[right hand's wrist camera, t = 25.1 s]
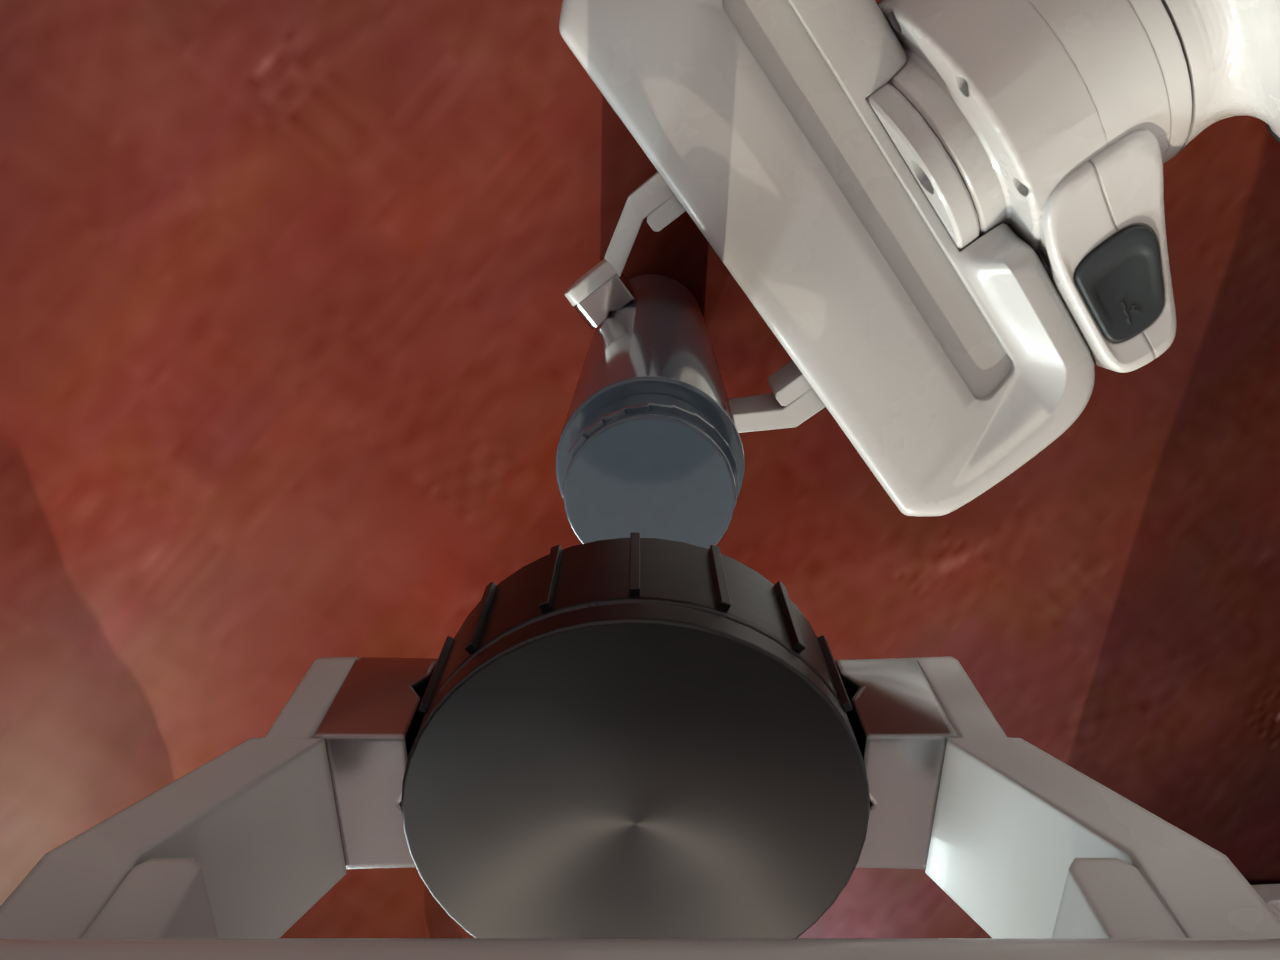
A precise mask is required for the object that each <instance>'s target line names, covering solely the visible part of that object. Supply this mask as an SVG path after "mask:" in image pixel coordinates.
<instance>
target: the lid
mask: <svg viewBox="0 0 1280 960" xmlns="http://www.w3.org/2000/svg"><path fill="white" fill-rule="evenodd" d="M850 710H853V708H852V705H851V703H850V700H849V698H848V695H847V692H846V690H845V687H844V685H843V682H842V679H841V677H840V674H839V672H838V669H837V666H836V664H835V661H834V658H833V656H832V653H831V651H830V648H829V645H828V643H827V640H826V638H825V636H824V635H823V636H821V637H818V638H817V636H816V634H815V632H814V631H813V629H812V627H811V625H810V624H809V622H808V621H807V620H806V618H805V617H804V616H803V614H802V613H801V612H800V610H799V609H798V608H797V606H796V605H795V604H794V603H793V602H792V601H791V600H790V599H789V596H788V593H787V590H786V587H785V586H784V585H783V584H782V583H781V582H780V581H778V582H777V583H776V584H775V585H774V584H772V583H771V582H770V581H768V580H767V579H766V578H764V577H763V576H762V575H760V574H759V573H758V572H756V571H754V570H752V569H751V568H749V567H747V566H745V565H743V564H742V563H740V562H738V561H736V560H734V559H732V558H730V557H727V556H725V555H722V554H721V552H720V548H719V547H717V546H714V545H711V546H710V548H709V549H707V548H703V547H699V546H695V545H692V544H688V543H684V542H679V541H672V540H665V539H658V538H640V533H639V532H631V533H630V537H627V538H616V539H606V540H598V541H594V542H589V543H584V544H580V545H575V546H572V547H569V548H566V549H563V550H562V549H561V547H560V545H557V546H554V547H552V548H551V551H550V554H549V555H546V556H544V557H542V558H540V559H538V560H536V561H534V562H532V563H530V564H528V565H526V566H524V567H522V568H521V569H520V570H518V571H517V572H515V573H514V574H512V575H511V576H509V577H508V578H506V579H505V580H503V581H502V582H501V583H499V584H498V585H497V586H496V585H495V584H494V583H493V582H491V583H490V584H489V585H488V586H486V589H485V591H484V594H483V597H482V600H481V601H480V602H479V603H478V605H477V606H476V607H475V608H474V609H473V611H472V612H471V613H470V614H469V615H468V617H467V618H466V620H465V621H464V623H463V625H462V626H461V628H460V629H459V631H458V633H457V634H456V636H455V638H451V637H449V636H448V637H447V639H446V641H445V643H444V646H443V648H442V651H441V653H440V656H439V658H438V661H437V663H436V666H435V668H434V671H433V673H432V676H431V678H430V681H429V683H428V686H427V688H426V691H425V693H424V696H423V698H422V701H421V703H420V706H419V708H418V711H420V712H423V713H425V714H424V717H423V719H422V722H421V724H420V727H419V730H418V733H417V735H416V738H415V740H414V743H413V745H412V748H411V750H410V753H409V756H408V760H407V764H406V768H405V772H404V776H403V782H402V797H401V809H402V819H403V829H404V833H405V837H406V840H407V844H408V848H409V852H410V855H411V857H412V859H413V861H414V864H415V866H416V868H417V870H418V873H419V875H420V877H421V878H422V880H423V882H424V883H425V885H426V886H427V888H428V889H429V891H430V893H431V894H432V896H433V897H434V898H435V900H436V901H437V902H438V903H439V904H440V905H441V907H442V908H443V909H444V910H445V911H446V913H447V914H448V915H449V916H450V917H451V918H452V919H453V920H454V921H456V922H457V923H458V924H459V925H460V926H461V927H462V928H463V929H464V930H465V931H466V932H468V933H469V934H470V935H472V936H473V937H474V938H544V939H796V938H798V937H799V936H800V935H801V934H802V933H804V932H805V931H806V930H807V929H808V928H810V927H811V926H812V925H813V924H814V923H816V922H817V920H818V919H819V918H820V917H821V916H822V915H823V914H824V913H825V912H826V911H827V910H828V909H829V908H830V906H831V905H832V904H833V903H834V902H835V900H836V899H837V897H838V896H839V895H840V893H841V892H842V890H843V889H844V887H845V886H846V885H847V883H848V881H849V879H850V877H851V875H852V873H853V871H854V869H855V867H856V865H857V863H858V861H859V858H860V855H861V852H862V848H863V845H864V842H865V839H866V834H867V827H868V821H869V815H870V793H869V784H868V778H867V773H866V767H865V763H864V760H863V757H862V755H861V752H860V749H859V746H858V743H857V741H856V738H855V735H854V732H853V730H852V727H851V724H850V722H849V719H848V716H847V713H846V712H848V711H850Z"/></svg>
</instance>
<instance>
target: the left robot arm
mask: <svg viewBox="0 0 1280 960" xmlns="http://www.w3.org/2000/svg"><path fill="white" fill-rule="evenodd" d="M559 30H560V34H561V36H562V38H563V39H564V41H565V42H566V44H567V45H568V47H569V48H570V49H571V51H572V52H573V54H574V55H575V56H576V58H577V59H578V61H579V62H580V63H581V65H582V66H583V68H584V69H585V70H586V72H587V73H588V75H589V76H590V77H591V79H592V80H593V82H594V83H595V84H596V86H597V87H598V89H599V90H600V91H601V93H602V94H603V96H604V97H605V99H606V100H607V101H608V103H609V104H610V106H611V107H612V108H613V110H614V111H615V113H616V114H617V115H618V116H619V117H620V119H621V120H622V122H623V123H624V124H625V126H626V127H627V129H628V130H629V131H630V133H631V134H632V136H633V137H634V138H635V140H636V141H637V143H638V144H639V145H640V147H641V148H642V150H643V151H644V152H645V154H646V155H647V157H648V158H649V159H650V161H651V162H652V164H653V165H654V167H655V168H656V169H657V171H658V172H656V173H655V174H654V175H653V176H651V177H650V178H649V179H648V180H647V181H645V182H644V183H643V184H642V185H641V186H639V187H638V188H637V189H636V190H634V191H633V192H632V193H631V194H630V195H629V196H628V199H627V201H626V204H625V206H624V209H623V211H622V214H621V216H620V219H619V221H618V224H617V227H616V229H615V232H614V234H613V237H612V239H611V242H610V244H609V247H608V249H607V252H606V254H605V257H604V259H603V260H602V261H601V262H599V263H598V264H597V265H596V266H594V267H593V268H592V269H591V270H589V271H588V272H587V273H586V274H584V275H583V276H582V277H581V278H579V279H578V280H577V281H576V282H575V283H574V284H572V285H571V286H570V287H569V288H568V289H567V290H566V292H565V293H564V295H565V296H566V298H567V299H568V300H569V302H570V303H571V304H572V306H574V308H575V309H576V310H577V311H578V313H579V314H580V315H581V316H582V317H583V319H584V320H585V321H586V322H587V324H588V325H589V326H590V327H591V329H594V328H596V327H597V326H599V325H600V324H602V323H603V322H604V321H605V320H606V319H607V318H608V315H609V311H617V310H619V309H621V308H622V307H624V306H625V305H626V304H627V303H629V302H630V301H631V300H633V299H634V296H635V295H634V293H635V289H634V288H633V286H632V285H631V284H630V282H629V281H628V279H627V278H626V277H625V275H624V274H623V273H622V271H623V268H624V266H625V263H626V261H627V258H628V256H629V254H630V251H631V249H632V246H633V244H634V241H635V239H636V236H637V234H638V231H639V229H640V226H641V224H642V221H643V219H644V218H646V217H647V223H648V224H649V226H650V227H651V228H652V229H653V231H656V232H659V231H660V230H662V229H663V228H664V227H666V226H667V225H668V224H669V223H671V222H672V221H673V220H675V219H676V218H677V217H679V216H680V215H681V214H682V213H684V212H685V211H687V213H688V214H689V216H690V217H691V218H692V220H693V221H694V223H695V224H696V225H697V227H698V228H699V230H700V231H701V232H702V234H703V235H704V237H705V238H706V239H707V241H708V242H709V244H710V245H711V246H712V248H713V249H714V251H715V252H716V253H717V255H718V256H719V258H720V259H721V260H722V262H723V263H724V265H725V266H726V267H727V269H728V270H729V272H730V273H731V274H732V276H733V277H734V279H735V280H736V281H737V283H738V284H739V286H740V287H741V288H742V290H743V291H744V293H745V294H746V295H747V297H748V298H749V300H750V301H751V302H752V304H753V305H754V307H755V308H756V309H757V311H758V312H759V314H760V315H761V317H762V318H763V319H764V321H765V322H766V324H767V325H768V326H769V328H770V329H771V331H772V332H773V333H774V335H775V336H776V338H777V339H778V340H779V342H780V343H781V345H782V346H783V347H784V349H785V350H786V352H787V353H788V354H789V356H790V357H791V359H792V360H791V361H790V362H788V363H787V364H786V365H784V366H783V367H782V368H780V369H779V370H778V371H776V372H775V373H774V374H772V375H771V376H769V377H768V383H769V385H770V387H771V390H772V392H773V393H769V394H762V395H755V396H748V397H741V398H734V399H728V400H729V403H730V406H731V409H732V413H733V416H734V419H735V422H736V426H737V429H738V432H739V433H741V432H751V431H762V430H772V429H782V428H792V427H797V426H798V425H800V424H801V423H803V422H804V421H806V420H807V419H808V418H810V417H811V416H813V415H814V414H816V413H817V412H819V411H820V410H822V409H823V408H825V407H826V408H827V409H828V410H829V412H830V413H831V415H832V416H833V417H834V419H835V420H836V422H837V423H838V424H839V426H840V427H841V429H842V430H843V431H844V433H845V434H846V436H847V437H848V438H849V440H850V441H851V443H852V445H853V446H854V448H855V449H856V450H857V452H858V453H859V455H860V456H861V457H862V459H863V460H864V461H865V463H866V464H867V466H868V467H869V468H870V470H871V471H872V473H873V474H874V475H875V477H876V478H877V480H878V481H879V482H880V484H881V485H882V487H883V488H884V489H885V491H886V492H887V494H888V495H889V496H890V498H891V499H892V501H893V502H894V503H895V505H896V506H897V507H898V509H899V510H900V511H901V512H902V513H903V514H904V515H907V516H942V515H945V514H948V513H950V512H952V511H954V510H956V509H958V508H960V507H961V506H963V505H965V504H966V503H968V502H970V501H971V500H973V499H974V498H976V497H977V496H979V495H981V494H982V493H984V492H985V491H987V490H988V489H990V488H991V487H993V486H994V485H996V484H997V483H998V482H1000V481H1001V480H1003V479H1004V478H1006V477H1007V476H1008V475H1010V474H1011V473H1013V472H1014V471H1015V470H1017V469H1018V468H1019V467H1021V466H1022V465H1023V464H1025V463H1026V462H1027V461H1029V460H1030V459H1032V458H1033V457H1034V456H1035V455H1037V454H1038V453H1039V452H1041V451H1042V450H1043V449H1044V448H1046V447H1047V446H1048V445H1049V444H1051V443H1052V442H1053V441H1054V440H1055V439H1057V438H1058V437H1059V436H1060V435H1061V434H1062V433H1064V432H1065V431H1066V430H1067V429H1068V428H1069V427H1070V426H1071V425H1072V424H1073V423H1074V421H1075V420H1076V419H1077V418H1078V417H1079V415H1080V414H1081V413H1082V411H1083V410H1084V408H1085V407H1086V405H1087V403H1088V401H1089V399H1090V396H1091V394H1092V391H1093V387H1094V380H1095V369H1094V365H1097V366H1100V367H1103V368H1106V369H1109V370H1113V371H1116V372H1121V373H1125V372H1130V371H1134V370H1136V369H1138V368H1140V367H1142V366H1144V365H1146V364H1148V363H1149V362H1151V361H1153V360H1154V359H1156V358H1157V357H1159V356H1160V355H1161V354H1163V353H1164V352H1165V351H1166V350H1167V349H1168V348H1169V347H1170V346H1171V344H1172V342H1173V340H1174V338H1175V334H1176V311H1175V303H1174V296H1173V289H1172V281H1171V274H1170V266H1169V257H1168V248H1167V238H1166V227H1165V213H1164V194H1163V164H1164V163H1165V162H1167V161H1168V160H1170V159H1171V158H1172V157H1174V156H1176V155H1177V154H1178V153H1179V152H1180V151H1181V150H1182V149H1183V148H1184V147H1185V146H1186V145H1187V144H1188V143H1189V142H1190V141H1192V140H1193V139H1194V138H1195V137H1196V136H1197V135H1198V134H1199V133H1200V132H1202V131H1203V130H1204V129H1205V128H1207V127H1208V126H1210V125H1211V124H1213V123H1215V122H1217V121H1219V120H1222V119H1225V118H1228V117H1233V116H1242V115H1247V116H1253V117H1256V118H1259V119H1261V120H1263V121H1264V122H1266V125H1267V129H1268V131H1269V132H1270V134H1271V135H1272V136H1273V137H1274V138H1275V139H1276V140H1277V141H1279V142H1280V0H881V1H880V2H879V3H878V4H877V3H876V0H563V3H562V8H561V15H560V23H559ZM1251 886H1252V887H1253V888H1254V890H1255V891H1256V892H1257V893H1258V894H1259V896H1260V897H1261V898H1262V899H1263V900H1264V902H1265V903H1266V904H1267V905H1268V906H1269V908H1270V909H1271V910H1272V911H1273V912H1274V914H1275V915H1276V916H1277V917H1278V918H1279V920H1280V884H1261V885H1251Z"/></svg>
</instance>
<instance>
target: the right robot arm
mask: <svg viewBox="0 0 1280 960" xmlns="http://www.w3.org/2000/svg"><path fill="white" fill-rule="evenodd" d="M437 661H438V659H422V658H372V657H362V658H359V657H322V658H319V659H317V660H315V661H314V662H313V663H312V665H311V666H310V668H309V669H308V671H307V672H306V674H305V675H304V677H303V679H302V680H301V682H300V683H299V685H298V686H297V688H296V689H295V691H294V692H293V694H292V695H291V697H290V699H289V700H288V702H287V703H286V705H285V706H284V708H283V709H282V711H281V712H280V714H279V715H278V717H277V718H276V720H275V722H274V723H273V725H272V726H271V728H270V729H269V731H268V732H267V734H266V735H265V737H264V738H250V739H249V740H247V741H245V742H243V743H242V744H240V745H238V746H236V747H234V748H233V749H231V750H229V751H227V752H226V753H224V754H222V755H220V756H218V757H217V758H215V759H213V760H211V761H210V762H208V763H206V764H204V765H202V766H201V767H199V768H197V769H195V770H194V771H192V772H190V773H188V774H187V775H185V776H183V777H181V778H179V779H178V780H176V781H174V782H172V783H171V784H169V785H167V786H165V787H163V788H162V789H160V790H158V791H156V792H155V793H153V794H151V795H149V796H148V797H146V798H144V799H142V800H140V801H139V802H137V803H135V804H133V805H132V806H130V807H128V808H126V809H124V810H123V811H121V812H119V813H117V814H116V815H114V816H112V817H110V818H108V819H107V820H105V821H103V822H101V823H100V824H98V825H96V826H94V827H93V828H91V829H89V830H87V831H85V832H84V833H82V834H80V835H78V836H77V837H75V838H73V839H71V840H69V841H68V842H66V843H64V844H62V845H61V846H59V847H57V848H55V849H53V850H52V851H50V852H48V853H46V854H45V855H44V856H43V857H42V859H41V860H40V861H39V862H38V863H37V864H36V866H35V867H34V868H33V869H32V870H31V871H30V873H29V874H28V875H27V876H26V877H25V878H24V880H23V881H22V882H21V883H20V884H19V885H18V887H17V888H16V889H15V890H14V891H13V892H12V894H11V895H10V896H9V897H8V898H7V900H6V901H5V902H4V903H3V904H2V905H1V907H0V960H1280V920H1279V918H1278V917H1277V916H1276V915H1275V914H1274V912H1273V911H1272V910H1271V909H1270V908H1269V906H1268V905H1267V904H1266V903H1265V902H1264V900H1263V899H1262V898H1261V897H1260V896H1259V894H1258V893H1257V892H1256V891H1255V890H1254V888H1253V887H1252V886H1251V885H1250V884H1249V882H1248V881H1247V880H1246V879H1245V878H1244V876H1243V875H1242V874H1241V873H1240V872H1239V870H1238V869H1237V868H1236V867H1235V866H1234V864H1233V863H1232V862H1231V861H1230V860H1229V858H1228V857H1227V856H1226V855H1224V854H1223V853H1221V852H1219V851H1217V850H1216V849H1214V848H1212V847H1210V846H1209V845H1207V844H1205V843H1203V842H1202V841H1200V840H1198V839H1196V838H1195V837H1193V836H1191V835H1189V834H1188V833H1186V832H1184V831H1182V830H1181V829H1179V828H1177V827H1175V826H1174V825H1172V824H1170V823H1168V822H1167V821H1165V820H1163V819H1161V818H1160V817H1158V816H1156V815H1154V814H1153V813H1151V812H1149V811H1147V810H1146V809H1144V808H1142V807H1140V806H1139V805H1137V804H1135V803H1133V802H1132V801H1130V800H1128V799H1126V798H1125V797H1123V796H1121V795H1119V794H1118V793H1116V792H1114V791H1112V790H1110V789H1109V788H1107V787H1105V786H1103V785H1102V784H1100V783H1098V782H1096V781H1095V780H1093V779H1091V778H1089V777H1088V776H1086V775H1084V774H1082V773H1081V772H1079V771H1077V770H1075V769H1074V768H1072V767H1070V766H1068V765H1067V764H1065V763H1063V762H1061V761H1060V760H1058V759H1056V758H1054V757H1053V756H1051V755H1049V754H1047V753H1046V752H1044V751H1042V750H1040V749H1039V748H1037V747H1035V746H1033V745H1032V744H1030V743H1028V742H1026V741H1025V740H1023V739H1021V738H1007V736H1006V734H1005V733H1004V731H1003V730H1002V728H1001V727H1000V725H999V724H998V722H997V720H996V719H995V717H994V716H993V714H992V713H991V711H990V710H989V708H988V707H987V705H986V703H985V702H984V700H983V699H982V697H981V696H980V694H979V693H978V691H977V689H976V688H975V686H974V685H973V683H972V682H971V680H970V679H969V677H968V675H967V674H966V672H965V671H964V669H963V668H962V666H961V665H960V663H959V661H958V660H956V659H955V658H953V657H923V658H906V659H861V660H834V661H835V664H836V666H837V669H838V672H839V674H840V677H841V679H842V682H843V685H844V687H845V690H846V692H847V695H848V698H849V700H850V703H851V705H852V708H853V710H850V711H848V712H846V713H847V716H848V719H849V722H850V724H851V727H852V730H853V732H854V735H855V738H856V741H857V743H858V746H859V749H860V752H861V755H862V757H863V760H864V763H865V767H866V773H867V778H868V784H869V793H870V815H869V821H868V827H867V834H866V839H865V842H864V845H863V848H862V852H861V855H860V858H859V861H858V863H857V865H856V867H868V868H903V869H926V871H925V873H926V874H927V875H928V876H929V877H930V878H931V879H932V880H933V881H934V882H936V883H937V884H938V885H939V886H940V887H941V888H942V889H943V890H944V891H945V892H946V893H947V894H948V895H949V896H950V897H951V898H952V899H953V900H954V901H955V902H956V903H957V904H958V905H959V906H960V907H961V908H962V909H963V910H964V911H965V912H966V913H967V914H968V915H969V916H970V917H971V918H972V919H973V920H974V921H976V922H977V923H978V924H979V925H980V926H981V927H982V928H983V929H984V930H985V931H986V932H987V933H988V934H989V935H990V936H991V937H992V938H891V939H544V938H280V937H281V936H282V935H283V934H284V933H285V932H286V931H287V930H288V929H289V928H290V927H291V926H292V925H293V924H294V923H296V922H297V921H298V920H299V919H300V918H301V917H302V916H303V915H304V914H305V913H306V912H307V911H308V910H309V909H310V908H311V907H312V906H313V905H314V904H315V903H316V902H317V901H318V900H319V899H320V898H321V897H322V896H324V895H325V894H326V893H327V892H328V891H329V890H330V889H331V888H332V887H333V886H334V885H335V884H336V883H337V882H338V881H339V880H340V879H341V878H342V877H343V876H344V875H345V874H346V869H368V868H403V867H416V866H415V864H414V861H413V859H412V857H411V855H410V852H409V848H408V844H407V840H406V837H405V833H404V829H403V819H402V809H401V797H402V782H403V776H404V772H405V768H406V764H407V760H408V756H409V753H410V750H411V748H412V745H413V743H414V740H415V738H416V735H417V733H418V730H419V727H420V724H421V722H422V719H423V717H424V714H425V713H423V712H420V711H418V708H419V706H420V703H421V701H422V698H423V696H424V693H425V691H426V688H427V686H428V683H429V681H430V678H431V676H432V673H433V671H434V668H435V666H436V663H437Z"/></svg>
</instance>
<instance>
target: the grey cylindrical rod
mask: <svg viewBox="0 0 1280 960" xmlns="http://www.w3.org/2000/svg"><path fill="white" fill-rule="evenodd" d="M628 281H629V282H630V284H631V285H632V286H633V288H634V289H635V293H634V295H635V296H634V299H633V300H631V301H630V302H629V303H627V304H626V305H625V306H624V307H622V308H621V309H619V310H617V311H609V315H608V318H607V319H606V320H605V321H604V322H603V323H602V324H600V325H599V326H597V327H596V329H595V332H594V335H593V338H592V341H591V344H590V348H589V351H588V354H587V357H586V360H585V363H584V366H583V369H582V372H581V375H580V378H579V381H578V384H577V387H576V390H575V393H574V396H573V399H572V402H571V405H570V408H569V411H568V414H567V418H566V421H565V424H564V427H563V430H562V433H561V436H560V439H559V443H558V446H557V452H556V477H557V483H558V486H559V490H560V493H561V495H562V498H563V500H564V506H565V511H566V515H567V518H568V521H569V523H570V525H571V528H572V529H573V531H574V533H575V534H576V536H577V538H578V539H579V540H580V541H581V543H582V544H584V543H589V542H594V541H598V540H606V539H616V538H627V537H630V533H631V532H639V533H640V538H658V539H665V540H672V541H679V542H684V543H688V544H692V545H695V546H699V547H703V548H707V549H709V548H710V546H711V545H714V546H716V545H717V543H718V542H719V541H720V540H721V538H722V537H723V536H724V534H725V532H726V530H727V528H728V527H729V524H730V522H731V519H732V517H733V513H734V509H735V507H736V501H737V498H738V496H739V493H740V491H741V487H742V483H743V479H744V469H745V464H744V452H743V446H742V442H741V439H740V436H739V432H738V429H737V426H736V422H735V419H734V416H733V413H732V409H731V406H730V403H729V400H728V396H727V393H726V390H725V386H724V383H723V380H722V377H721V373H720V370H719V367H718V364H717V360H716V357H715V354H714V350H713V347H712V344H711V341H710V337H709V334H708V331H707V327H706V324H705V321H704V318H703V314H702V311H701V308H700V306H699V304H698V302H697V300H696V298H695V297H694V295H693V294H692V293H691V292H690V291H689V290H688V289H687V288H686V287H685V286H684V285H683V284H681V283H680V282H678V281H676V280H674V279H672V278H669V277H666V276H662V275H655V274H648V275H641V276H637V277H634V278H631V279H629V280H628Z"/></svg>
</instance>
